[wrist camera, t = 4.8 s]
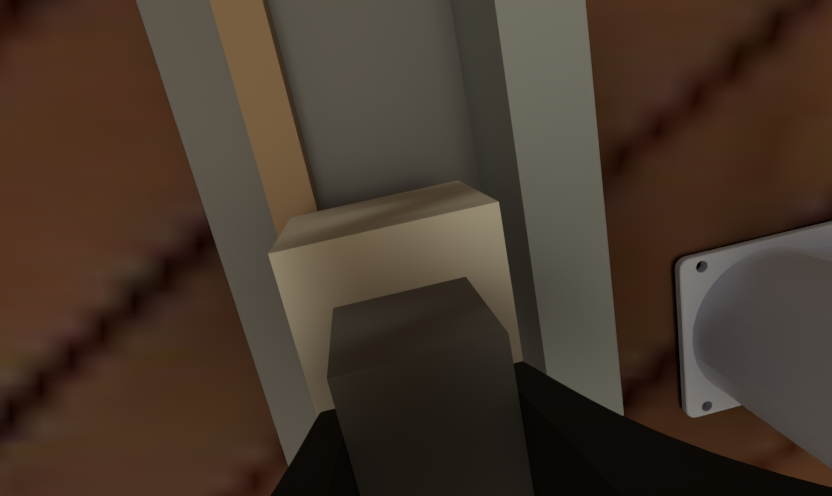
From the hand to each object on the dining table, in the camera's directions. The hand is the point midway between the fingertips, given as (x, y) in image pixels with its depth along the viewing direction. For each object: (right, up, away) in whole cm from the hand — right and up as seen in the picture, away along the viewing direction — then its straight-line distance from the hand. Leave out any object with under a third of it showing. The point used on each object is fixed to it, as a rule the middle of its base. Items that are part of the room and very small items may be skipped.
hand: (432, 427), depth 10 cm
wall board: (-1, +3, +10) cm, 10 cm away
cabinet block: (-1, +1, +5) cm, 6 cm away
